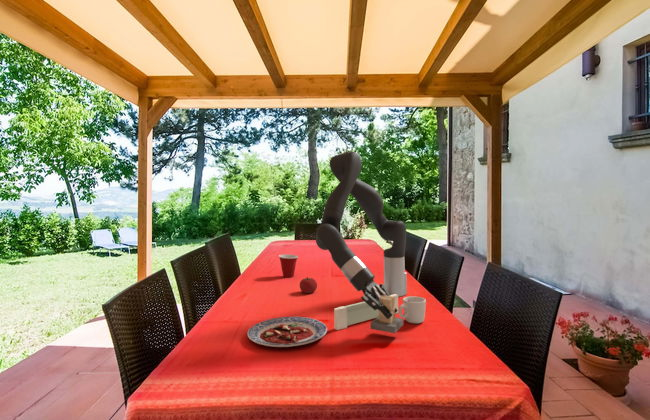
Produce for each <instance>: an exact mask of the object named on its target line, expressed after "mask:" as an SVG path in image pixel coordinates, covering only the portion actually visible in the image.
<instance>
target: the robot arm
mask: <svg viewBox="0 0 650 420" xmlns="http://www.w3.org/2000/svg"><path fill="white" fill-rule="evenodd" d="M362 165H363V162H362V158H361V156H360V154H359V153H358V152H355V151H348V152H344V153H340V154H337V155H333V156H332V157H331V158H330V161H329V168H330V171H331V173H332V174H333V176H334V177H335V178H336V180H337V181H339V183H338V184H337V186H336V187H335V188H334V189H333V190H332V191H331V192H330V194H329V196H328V198H327V200H326V203H325V205H324V209H323V213H322V216H321V218H322V219H321V223H320V225H319V227H318V228H317V230H316V236H315V243H316V246H317V247H318V248H319V249H320V250H322V251H328V252H329V253H330V256H331V259H332V261H333V263H334V264H335V265H336V266H337V268H339V270H340V271H341V272H342V274H343V276H344V277H345V278H346V279H347V281H349V283H350V284H351V285H352V286H353V287H354V289H355V290H356V291H357V292H362V293H363V295H362V296H361V297H360V298H361V300H362V302H364V301H365V302H366V303H367V304H368V305H369V306H370V307H371V308H373V309H374V310H376V309H377V310H380V311H381V312H382V313H383V315H384V316H385V317H386V318H387V319H389V318H390V317H391V316H392V315H393V314H392V313H391V312H390V311H389V309H388V308H387V307H386V306H384V303H383V302H382V301H381V296H383V295H384V296H385V295H386V296H390V295H393V294H397V295H398V297H404V296H405V295H407V294H408V293H407V292H408V288H407V286H408V284H407V283H408V281H407V278H408V277H407V276H408V275H407V272H406V270H405V269H406V268H405V266H406V265H405V254H406V248H407V247H406V246H407V228H406V224H405V223H404V221H402V220H389V219H387V218H386V216H385V215H384V213H383V211H384V201H383V198H382V197H381V195H380V194H379V192H378V191H377V190H376V188H374V187H373V186H372V185H370V184H368V183H366V182H364V181H362V180H361V179H359V178H358V177H359V175H360V172H361V171H362ZM350 194H351V196H352V197H353V198H354V200H355V201H356V202H357V204H358V205H359V207H360V208H361V209H362V211H363V212H364V213H365V214H366V216H367V217H368V218H369V221H371V223H372V225H373V226H374V227H375V229H376V232H378V235H379V236H380V238H382V240H384V241H388V242H392V246H391V247H388V248H385V249H384V250H383V283H382V282H381V283H380V284H379V283H377V282H375V280H374V279H375V277H376V276H375V274H374V273H373V272H372V270H370V269H369V267H368V266H366V264H365V263H364V262H363V261H362V260H361V258H359V257H358V256H357V255H356V254H355V252H353V251H352V249H351V248H350V247H349V246H348V244H347V243H346V241H345V240H344V238H343V236H342V234H341V232H339V227H340V224H341V222H342V219H343V216H344V213H345V212H344V211H345V209H346V205H347V203H348V199H349V197H350ZM378 301H379V302H378ZM373 304H374V305H375V306H374V305H373ZM398 310H399V309H398ZM398 310H397V309H396V307H395V313H396V312H397V311H398ZM398 312H399V311H398ZM396 314H397V313H396Z"/></svg>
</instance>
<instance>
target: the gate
mask: <svg viewBox="0 0 650 420" xmlns="http://www.w3.org/2000/svg"><path fill="white" fill-rule="evenodd" d="M378 302H379V301H378ZM373 305H374V304H373ZM374 306H375V305H374ZM344 307H346V308H347V327H348V326H351V325H355V324H358V323H362V322H365V321H368V320H374V319H376V318H377V317H378V316H379V310H377V309H376V310H374V309H373V308H371V307H370V306H369V305H368V304H367V303H366V302H365V301H360V302H357V303H352V304H349V305H348V304H347V305H345V306H344Z"/></svg>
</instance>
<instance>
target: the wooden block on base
mask: <svg viewBox="0 0 650 420" xmlns="http://www.w3.org/2000/svg"><path fill="white" fill-rule="evenodd" d="M381 301H382V302H383V303H384V306H386V307H387V308H388V309H389V311H390V312H391V313H392V314H393V315H392V316H391V317H390V318H389V319H387V318H386V317H385V316H384V315H383V313H382V312H381V311H380V310H379V316H378V317H377V318H373V319H372V321H370V330H373V331H374V330H376V331H380V332H384V333H385V332H386V333H391V334H396V333H397V332H398V330H400V329H401V328H402V327H403V326H404V318H402V317H396V314H395V297H394V296H387V295H385V296H384V295H383V296H381Z"/></svg>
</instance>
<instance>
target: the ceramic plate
mask: <svg viewBox="0 0 650 420" xmlns="http://www.w3.org/2000/svg"><path fill="white" fill-rule="evenodd" d="M327 332H328V327H327V325H326V324H325V323H324V322H322V321H320V320H318V319H315V318H312V317H306V316H303V317H302V316H283V317H282V316H281V317H275V318H274V317H273V318H270V319H266V320H263V321H262V320H261V321H260V322H258V323H256V324H254V325H252V326H251V327H250V328H249V329H248V331H247V337H248V338H249V340H250V341H252V342H254V343H255V344H258V345H262V346H265V347H273V348H274V347H275V348H289V347H298V346H302V345H307V344H311V343H313V342H316V341H318V340H319V339H322V338H323V337H324V336H325V335H326V334H327Z"/></svg>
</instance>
